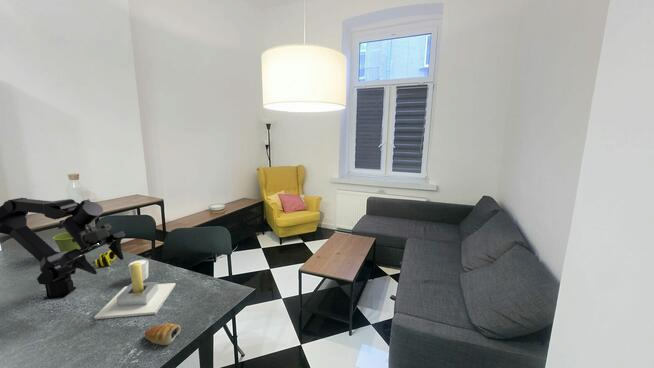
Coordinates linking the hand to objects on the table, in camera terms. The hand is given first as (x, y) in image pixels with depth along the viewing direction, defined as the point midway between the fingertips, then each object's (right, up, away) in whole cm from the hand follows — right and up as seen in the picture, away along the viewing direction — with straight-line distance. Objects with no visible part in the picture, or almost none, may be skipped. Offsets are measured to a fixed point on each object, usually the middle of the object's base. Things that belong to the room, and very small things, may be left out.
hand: (109, 266), depth 94 cm
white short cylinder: (-1, -10, +17) cm, 20 cm away
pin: (+9, -12, +3) cm, 15 cm away
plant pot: (-45, -6, +34) cm, 57 cm away
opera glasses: (-26, -8, +29) cm, 39 cm away
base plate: (+8, -13, +3) cm, 16 cm away
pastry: (+28, -17, -14) cm, 36 cm away
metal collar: (+8, -13, +3) cm, 16 cm away
